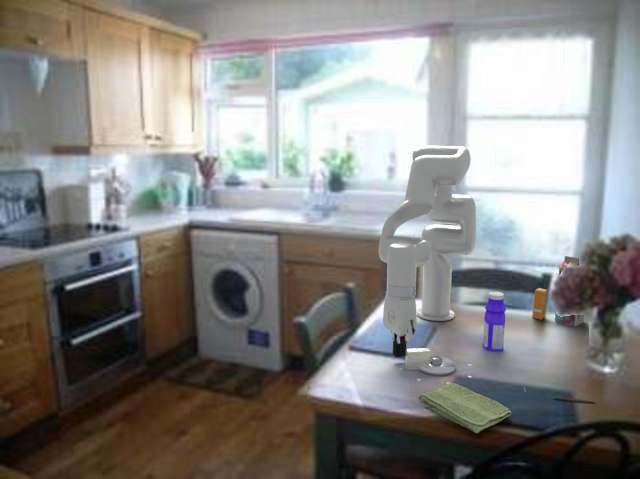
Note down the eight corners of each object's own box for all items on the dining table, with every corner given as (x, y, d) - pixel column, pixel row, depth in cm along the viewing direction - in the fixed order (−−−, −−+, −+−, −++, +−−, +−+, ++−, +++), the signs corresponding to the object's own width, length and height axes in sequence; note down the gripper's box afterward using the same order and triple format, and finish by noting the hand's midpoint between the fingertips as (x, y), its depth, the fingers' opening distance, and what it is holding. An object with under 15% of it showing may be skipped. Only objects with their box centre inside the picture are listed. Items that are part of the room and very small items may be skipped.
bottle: (504, 357, 151) (508, 297, 147) (483, 355, 152) (487, 296, 148) (501, 347, 158) (505, 290, 154) (481, 345, 159) (484, 289, 155)
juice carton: (574, 326, 174) (581, 260, 170) (554, 321, 179) (560, 257, 175) (583, 322, 178) (590, 257, 174) (563, 317, 183) (569, 254, 179)
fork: (597, 407, 124) (597, 399, 123) (523, 398, 128) (524, 391, 127) (594, 402, 126) (595, 394, 126) (522, 393, 130) (523, 386, 130)
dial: (447, 358, 147) (447, 340, 146) (461, 374, 137) (462, 355, 136) (400, 360, 145) (401, 343, 144) (411, 377, 135) (412, 358, 134)
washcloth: (478, 439, 111) (479, 425, 111) (414, 405, 125) (414, 393, 124) (514, 418, 119) (515, 405, 118) (450, 389, 133) (451, 377, 132)
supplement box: (542, 320, 180) (544, 291, 178) (531, 317, 182) (534, 289, 180) (545, 317, 183) (548, 289, 181) (535, 315, 185) (537, 287, 183)
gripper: (374, 284, 146) (373, 347, 150) (404, 299, 133) (402, 368, 136) (398, 281, 149) (396, 343, 153) (429, 296, 136) (427, 363, 139)
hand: (399, 355), depth 145 cm, fingers closed
